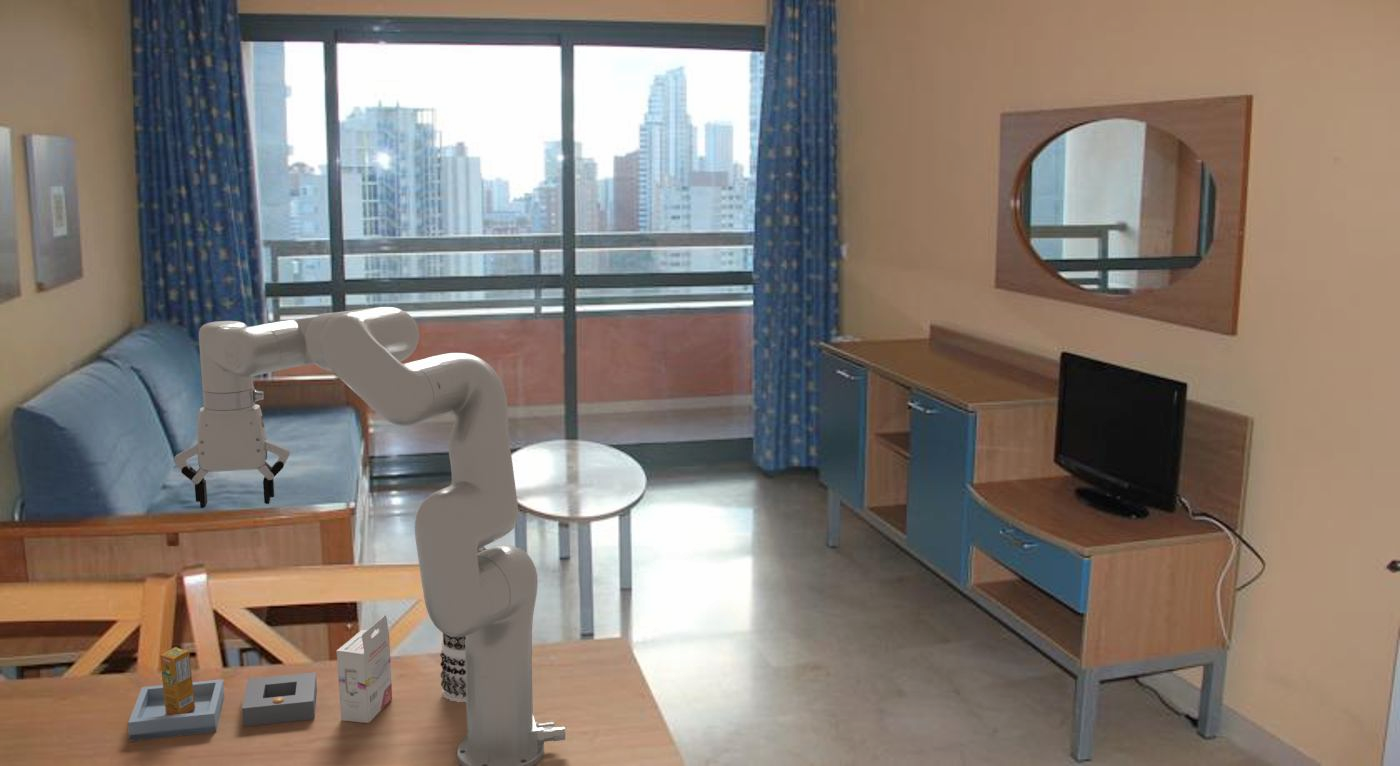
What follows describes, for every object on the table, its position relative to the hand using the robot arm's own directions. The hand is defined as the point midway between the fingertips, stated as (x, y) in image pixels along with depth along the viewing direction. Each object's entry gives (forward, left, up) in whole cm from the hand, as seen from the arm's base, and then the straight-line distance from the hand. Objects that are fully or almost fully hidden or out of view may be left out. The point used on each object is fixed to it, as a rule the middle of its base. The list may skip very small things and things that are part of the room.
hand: (235, 503), depth 195 cm
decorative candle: (-35, +13, -31) cm, 48 cm away
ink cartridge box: (-19, +16, -31) cm, 39 cm away
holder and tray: (+1, +12, -30) cm, 33 cm away
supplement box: (+9, +12, -30) cm, 33 cm away
